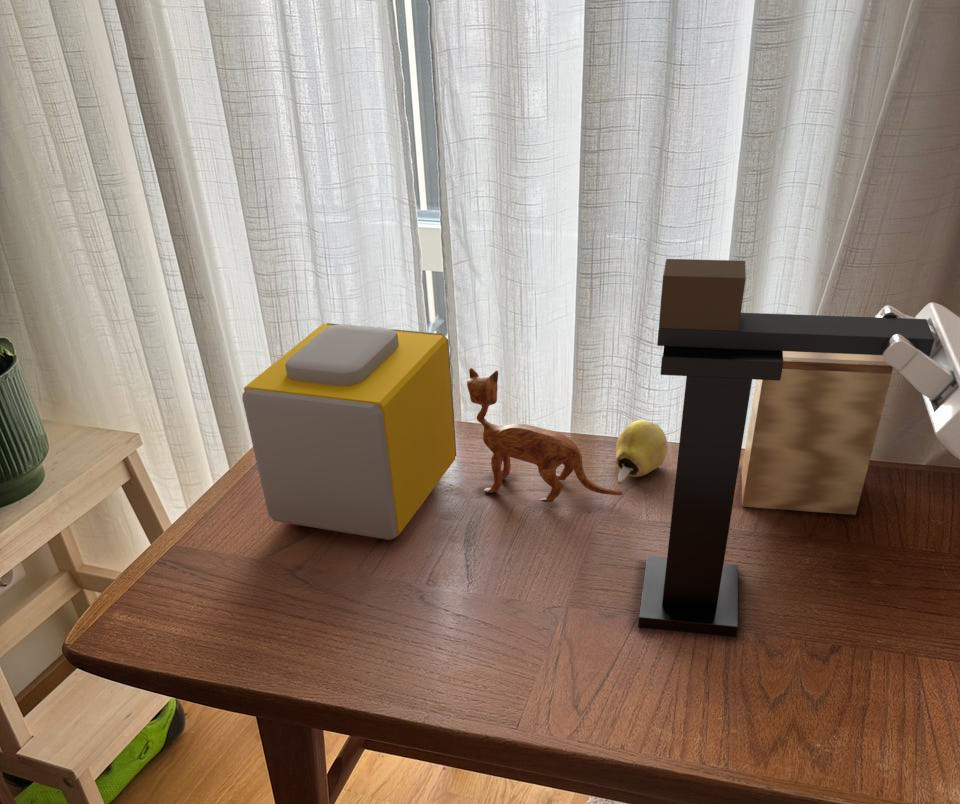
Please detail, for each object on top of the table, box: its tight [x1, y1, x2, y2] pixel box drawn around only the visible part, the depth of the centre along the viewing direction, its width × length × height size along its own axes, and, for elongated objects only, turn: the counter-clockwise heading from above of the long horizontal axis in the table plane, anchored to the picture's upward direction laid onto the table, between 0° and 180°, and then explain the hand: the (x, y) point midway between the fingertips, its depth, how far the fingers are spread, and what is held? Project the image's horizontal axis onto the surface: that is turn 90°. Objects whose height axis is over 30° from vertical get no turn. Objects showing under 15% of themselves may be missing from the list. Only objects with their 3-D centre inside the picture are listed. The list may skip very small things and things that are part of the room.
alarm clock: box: [241, 322, 457, 541], centre depth 100 cm, size 20×16×18 cm
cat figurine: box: [466, 367, 624, 503], centre depth 101 cm, size 18×7×14 cm, turn 70°
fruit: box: [615, 419, 669, 485], centre depth 107 cm, size 6×6×10 cm
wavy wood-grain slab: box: [741, 351, 894, 516], centre depth 98 cm, size 12×8×17 cm, turn 78°
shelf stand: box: [637, 346, 784, 638], centre depth 81 cm, size 9×10×26 cm
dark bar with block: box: [657, 258, 934, 357], centre depth 70 cm, size 20×4×5 cm, turn 78°
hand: (883, 330), depth 69 cm, fingers open, 4 cm apart
